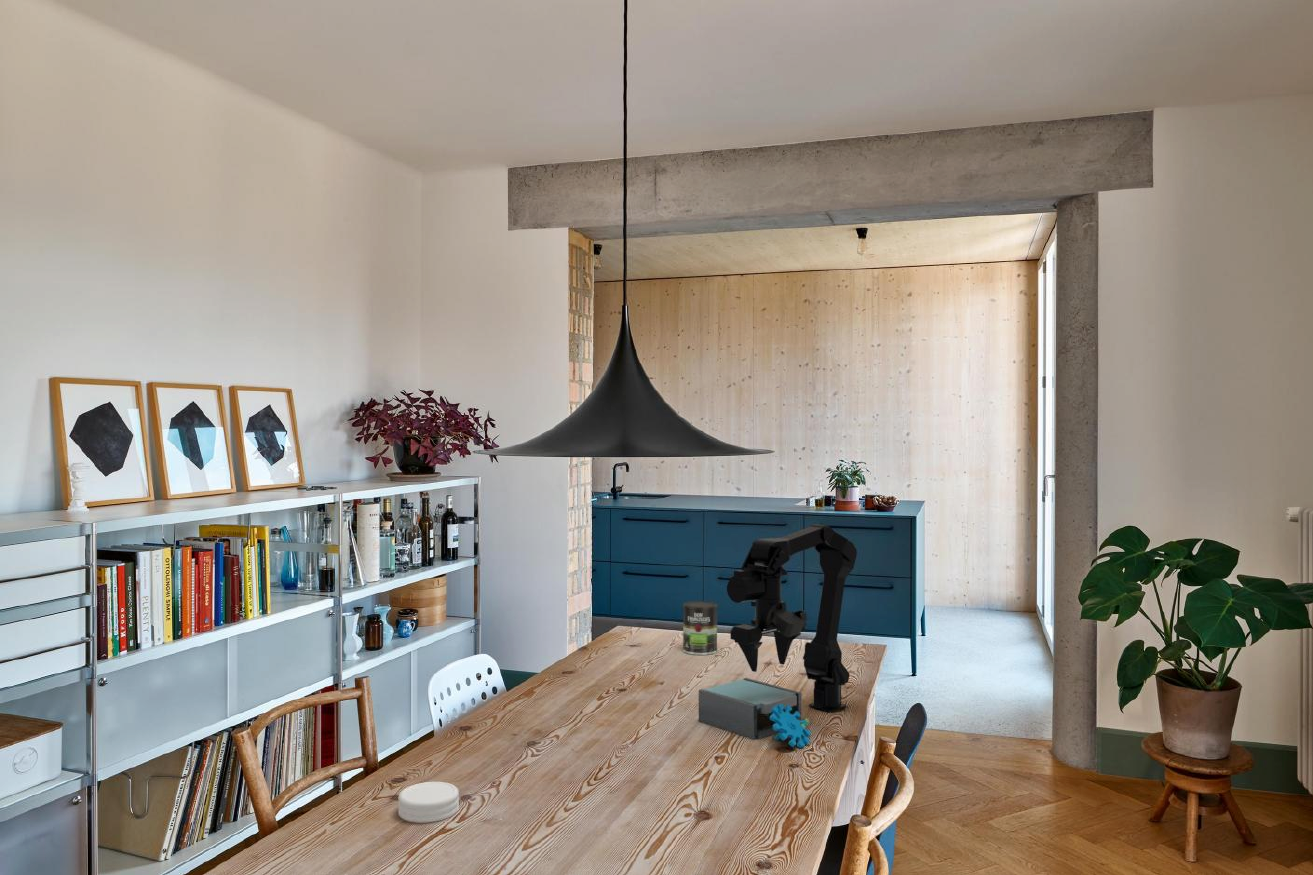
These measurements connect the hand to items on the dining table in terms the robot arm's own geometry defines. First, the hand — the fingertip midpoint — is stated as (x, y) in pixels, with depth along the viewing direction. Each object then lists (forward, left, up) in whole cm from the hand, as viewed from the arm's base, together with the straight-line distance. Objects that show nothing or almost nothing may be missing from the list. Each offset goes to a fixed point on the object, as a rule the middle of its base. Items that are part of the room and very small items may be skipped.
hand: (768, 667), depth 201 cm
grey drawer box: (+1, -4, -13) cm, 14 cm away
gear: (+5, +11, -13) cm, 18 cm away
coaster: (+78, -8, -13) cm, 79 cm away
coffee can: (-38, -60, -13) cm, 72 cm away
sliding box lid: (+1, -4, -8) cm, 9 cm away
